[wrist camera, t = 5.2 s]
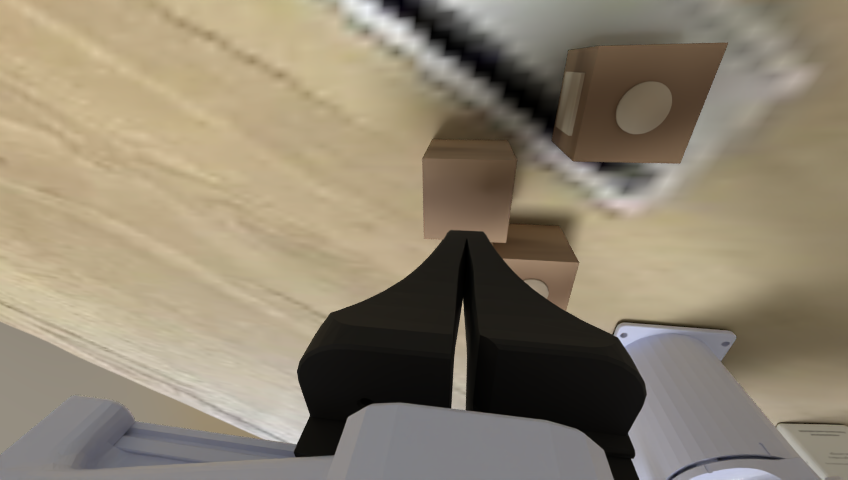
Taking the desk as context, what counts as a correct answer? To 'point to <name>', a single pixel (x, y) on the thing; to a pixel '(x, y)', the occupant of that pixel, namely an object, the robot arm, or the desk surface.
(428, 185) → the plain block
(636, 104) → the marked block 1
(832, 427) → the ink box
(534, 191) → the desk surface
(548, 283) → the marked block 2
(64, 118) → the desk surface
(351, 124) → the desk surface
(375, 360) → the robot arm
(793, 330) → the desk surface
